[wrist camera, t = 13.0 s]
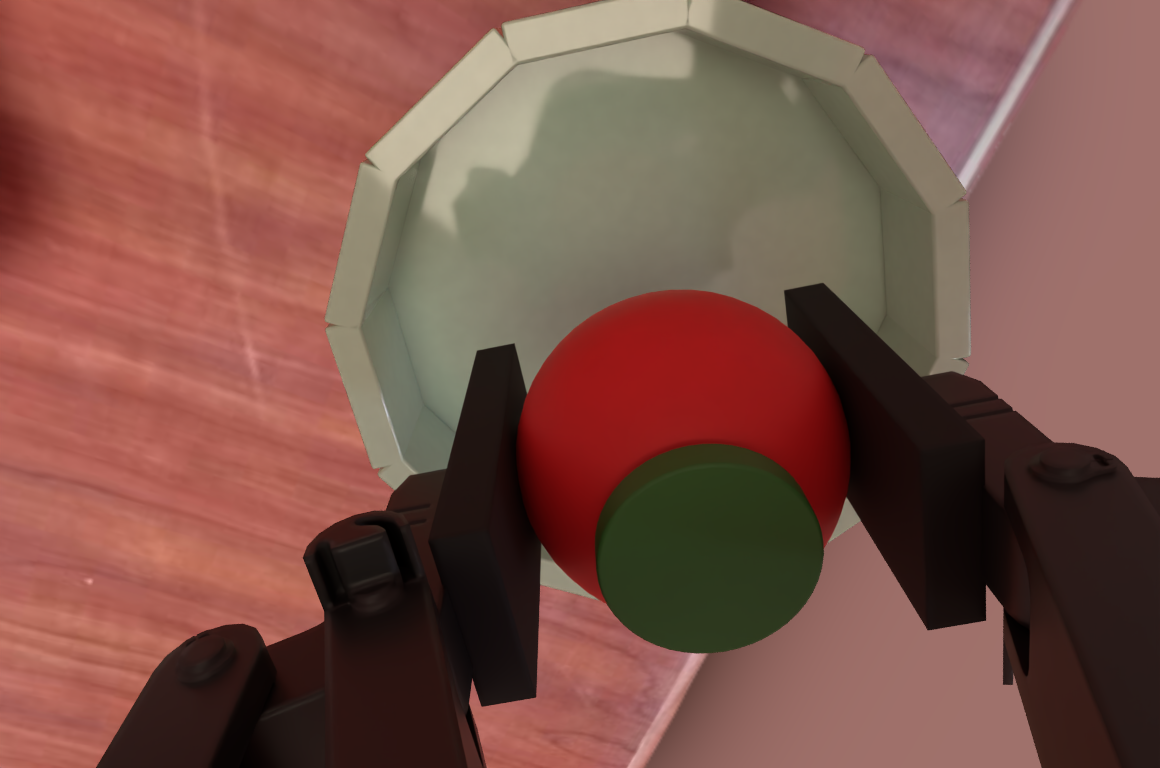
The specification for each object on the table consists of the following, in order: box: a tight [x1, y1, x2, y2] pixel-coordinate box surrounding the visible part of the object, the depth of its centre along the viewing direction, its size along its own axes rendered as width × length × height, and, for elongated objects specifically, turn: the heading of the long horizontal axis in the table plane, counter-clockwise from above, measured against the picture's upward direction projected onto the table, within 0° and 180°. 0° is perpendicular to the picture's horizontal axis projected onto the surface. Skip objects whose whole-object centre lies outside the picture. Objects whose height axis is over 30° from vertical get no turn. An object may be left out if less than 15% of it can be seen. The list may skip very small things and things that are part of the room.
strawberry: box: [516, 290, 851, 653], centre depth 14 cm, size 5×5×6 cm
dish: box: [324, 0, 971, 601], centre depth 26 cm, size 14×14×17 cm
